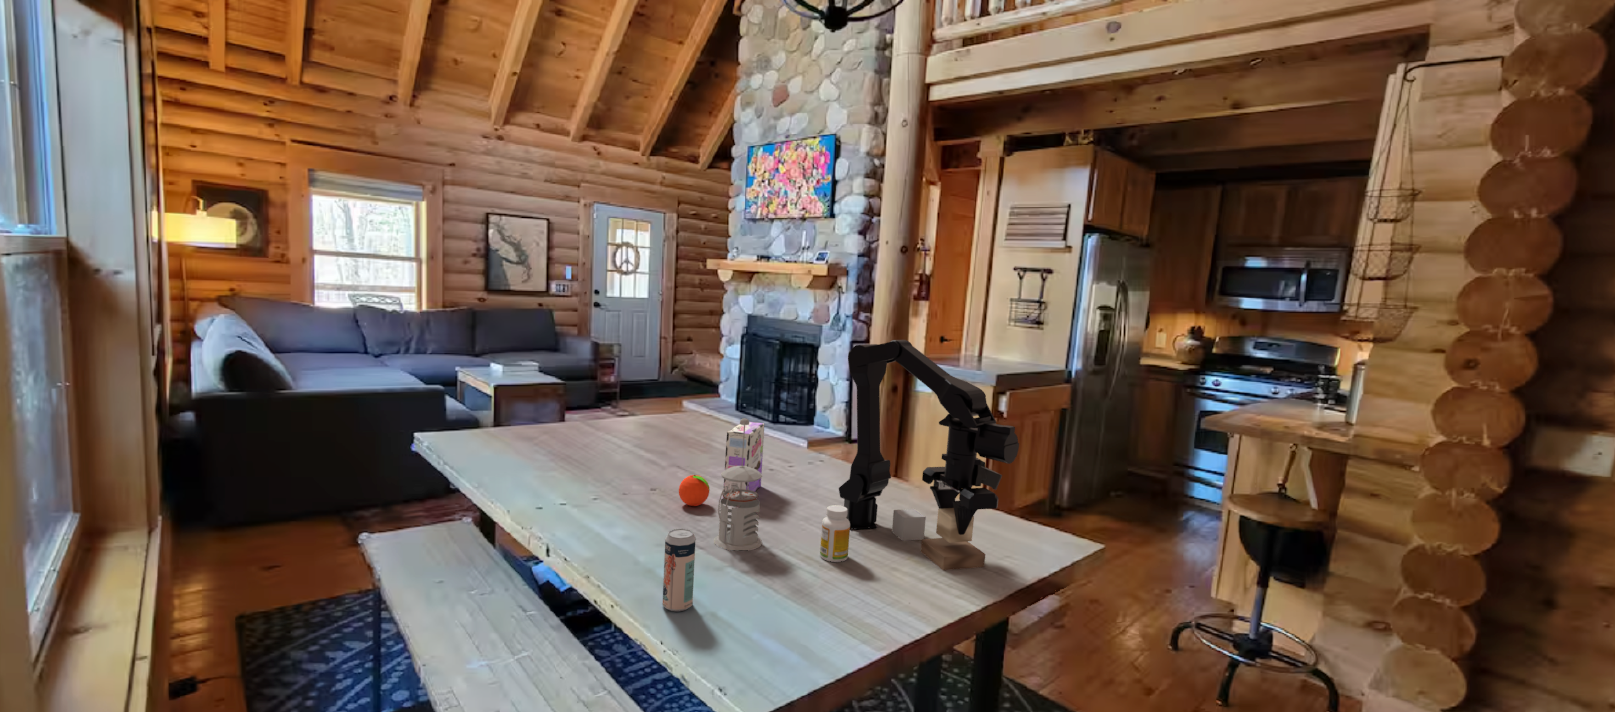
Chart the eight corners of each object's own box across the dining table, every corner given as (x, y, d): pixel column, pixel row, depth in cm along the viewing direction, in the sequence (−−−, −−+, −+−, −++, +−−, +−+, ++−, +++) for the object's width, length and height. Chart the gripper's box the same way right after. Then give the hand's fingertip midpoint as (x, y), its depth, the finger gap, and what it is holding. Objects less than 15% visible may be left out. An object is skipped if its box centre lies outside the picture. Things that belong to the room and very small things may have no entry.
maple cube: (949, 542, 133) (951, 517, 133) (936, 533, 138) (938, 508, 137) (971, 541, 135) (974, 516, 134) (958, 531, 140) (960, 507, 139)
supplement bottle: (850, 554, 136) (854, 506, 134) (843, 564, 130) (847, 514, 129) (824, 549, 137) (828, 501, 136) (816, 559, 132) (819, 509, 131)
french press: (771, 539, 141) (778, 417, 138) (742, 558, 130) (749, 427, 128) (729, 529, 145) (736, 411, 142) (698, 546, 134) (704, 420, 132)
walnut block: (942, 572, 131) (944, 557, 131) (920, 553, 140) (921, 539, 139) (984, 568, 134) (985, 554, 134) (959, 550, 143) (961, 536, 142)
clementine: (718, 506, 159) (720, 475, 158) (698, 513, 153) (699, 482, 152) (692, 498, 163) (693, 468, 162) (671, 505, 157) (672, 474, 156)
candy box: (746, 502, 162) (750, 433, 161) (722, 499, 164) (725, 430, 162) (761, 486, 176) (765, 422, 174) (739, 483, 177) (743, 419, 175)
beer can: (664, 598, 112) (667, 527, 111) (693, 599, 113) (697, 528, 111) (660, 613, 108) (663, 538, 106) (691, 613, 108) (695, 539, 107)
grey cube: (902, 541, 145) (904, 517, 144) (891, 532, 150) (893, 509, 149) (923, 539, 146) (925, 516, 146) (912, 531, 151) (914, 508, 151)
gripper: (1026, 463, 128) (1018, 545, 130) (971, 439, 146) (964, 511, 148) (974, 465, 125) (966, 549, 126) (924, 440, 142) (917, 514, 144)
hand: (954, 529), depth 136 cm, fingers closed on maple cube, 5 cm apart
